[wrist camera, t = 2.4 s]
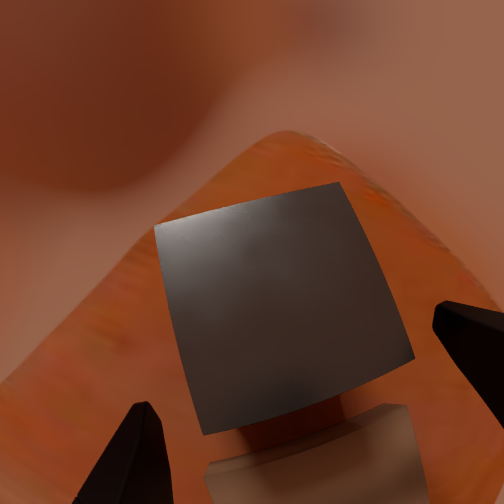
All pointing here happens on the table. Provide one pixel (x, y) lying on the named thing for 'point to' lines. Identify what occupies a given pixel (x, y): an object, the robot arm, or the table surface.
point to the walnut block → (330, 466)
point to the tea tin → (277, 305)
